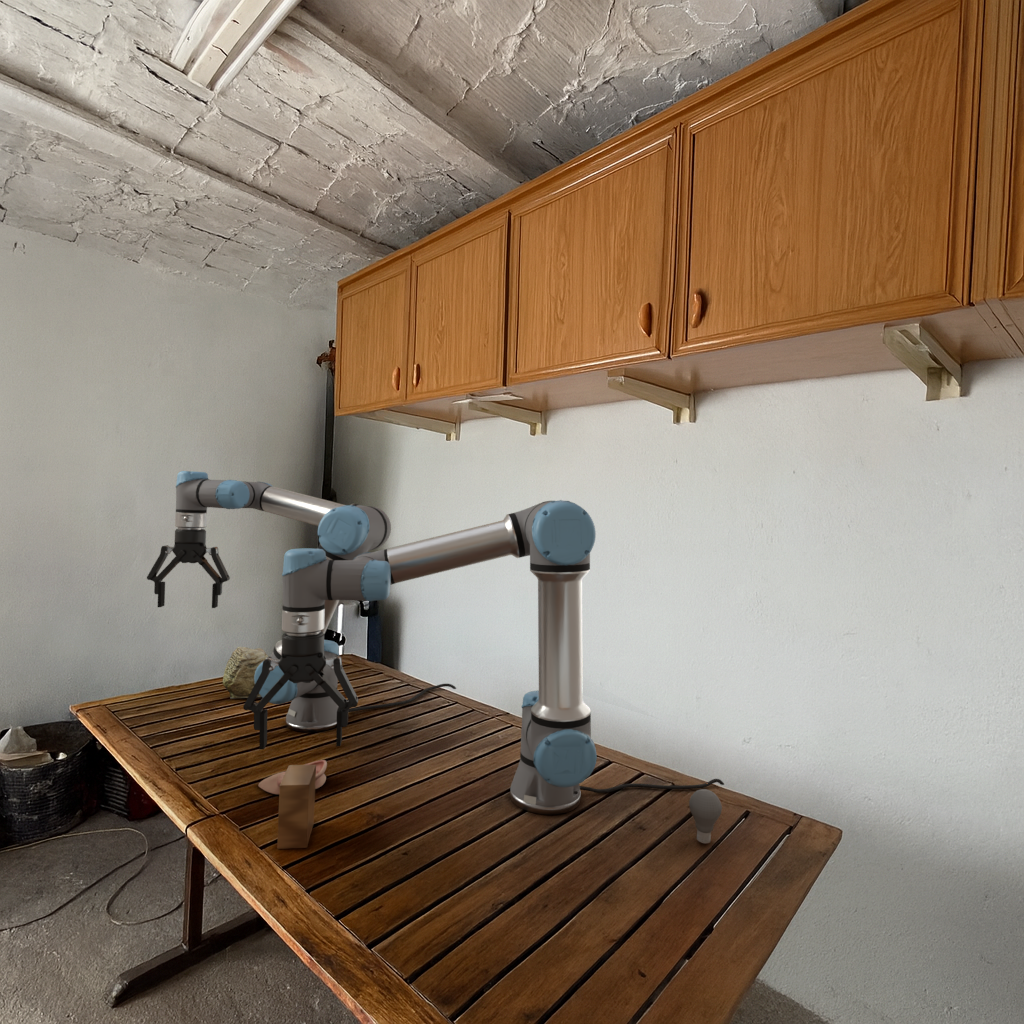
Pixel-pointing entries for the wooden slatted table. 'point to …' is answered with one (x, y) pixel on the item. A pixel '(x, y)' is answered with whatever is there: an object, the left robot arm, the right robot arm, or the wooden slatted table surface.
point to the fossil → (242, 671)
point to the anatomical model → (275, 780)
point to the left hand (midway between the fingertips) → (188, 607)
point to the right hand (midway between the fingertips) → (301, 745)
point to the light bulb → (705, 812)
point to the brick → (296, 806)
